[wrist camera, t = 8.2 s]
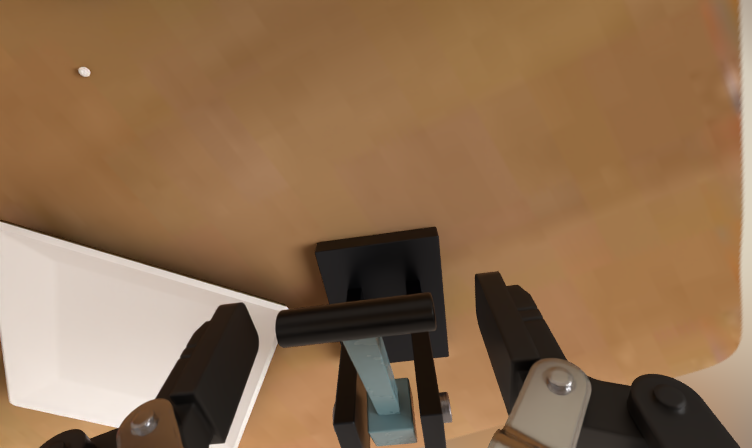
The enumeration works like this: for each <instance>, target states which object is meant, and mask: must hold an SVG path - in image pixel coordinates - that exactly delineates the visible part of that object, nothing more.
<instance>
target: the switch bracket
mask: <svg viewBox="0 0 752 448" xmlns="http://www.w3.org/2000/svg"><path fill="white" fill-rule="evenodd" d="M315 255H316V259H317V262H318V266H319V269H320V273H321V276H322V280H323V283H324V287H325V290H326V294H327V297H328V301H329V304H335V303H344V302H352V301H360V300H368V299H377V298H385V297H393V296H401V295H410V294H418V293H426V292H429V293H431V295H432V298H433V304H434V310H435V317H436V330H435V331H429V332H420V333H411V334H402V335H393V336H384V337H382V339H383V342H384V346H385V349H386V352H387V356H388V359H389V362H390V363H394V362H403V361H412V360H414V365H415V374H416V382H417V391H418V400H419V409H420V418H421V424H422V430H423V437H424V443H425V448H446V440H445V431H444V423H449V422H452V414H451V407H450V402H449V396H448V393H447V392H441V393H439V390H438V384H437V378H436V372H435V366H434V360H433V358H440V357H449V352H448V340H447V329H446V317H445V305H444V293H443V282H442V270H441V258H440V246H439V236H438V232H437V229H436V227H431V228H424V229H416V230H409V231H402V232H394V233H387V234H379V235H372V236H364V237H357V238H349V239H342V240H335V241H327V242H320V243H317V246H316V250H315ZM340 343H341V354H340V364H339V373H338V382H337V392H336V401H335V404H334V407H333V426H334V430H335V432H336V434H337V437H338V440H339V443H340V446H341V448H370V435H369V433H368V423H367V391H366V389H365V387H364V385H363V383H362V381H361V379H360V376H359V374H358V372H357V370H356V368H355V366H354V364H353V362H352V360H351V358H350V356H349V354H348V352H347V350H346V348H345V346H344V344H343V342H342V341H340Z"/></svg>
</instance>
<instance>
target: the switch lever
mask: <svg viewBox="0 0 752 448" xmlns="http://www.w3.org/2000/svg"><path fill="white" fill-rule="evenodd" d="M435 330H436V317H435V310H434V304H433V298H432V295H431V293H429V292H426V293H418V294H410V295H401V296H393V297H385V298H377V299H368V300H360V301H352V302H344V303H335V304H327V305H319V306H311V307H302V308H294V309H286V310H281V311H280V312H279V313H278V314H277V317H276V323H275V332H276V338H277V342H278V344H279V345H280V346H281V347H283V348H287V347H296V346H305V345H314V344H323V343H331V342H340V341H342V342H343V344H344V346H345V348H346V350H347V352H348V354H349V356H350V358H351V360H352V362H353V364H354V366H355V368H356V370H357V372H358V374H359V376H360V379H361V381H362V383H363V385H364V387H365V389H366V391H367V423H368V433H369V435H370V436H371V438H372V440H373V441H374V443H375V444H376V446H386V445H397V444H408V443H416V442H417V433H416V424H415V415H414V406H413V397H412V392H411V388H410V383H409V379H408V378H400V379H394V375H393V372H392V369H391V366H390V362H389V359H388V356H387V352H386V349H385V346H384V342H383V339H382V337H384V336H393V335H402V334H411V333H420V332H429V331H435Z"/></svg>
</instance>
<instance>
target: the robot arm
mask: <svg viewBox="0 0 752 448" xmlns="http://www.w3.org/2000/svg"><path fill="white" fill-rule="evenodd" d="M475 298H476V315H477V320H478V325H479V328H480V331H481V334H482V337H483V340H484V343H485V346H486V349H487V352H488V355H489V358H490V361H491V364H492V367H493V370H494V373H495V376H496V379H497V382H498V385H499V388H500V391H501V394H502V397H503V400H504V403H505V406H506V409H507V412H508V415H509V417H508V420H507V422H506V424H505V426H504V428H503V429H502V430H500V429H498V430H497V431H496V433H495V434H494V436H493V437H492V440H491V441H490V444H489V446H488V448H740V447H739V445H738V444H737V443H736V441H735V440H734V439H733V438H732V436H731V435H730V434H729V432H728V431H727V430H726V429H725V427H724V426H723V425H722V424H721V422H720V421H719V420H718V419H717V417H716V416H715V415H714V413H713V412H712V411H711V410H710V408H709V407H708V406H707V405H706V403H705V402H704V401H703V399H702V398H701V397H700V396H699V395H698V394H697V393H696V392H695V391H694V390H693V389H691V388H690V387H689V386H687V385H685V384H684V383H682V382H680V381H678V380H676V379H674V378H671V377H668V376H664V375H658V374H646V375H642V376H639V377H638V378H636V379H635V380H634V381H633V383H632V385H631V386H628V385H622V384H616V383H610V382H605V381H600V380H596V379H593V378H591V377H589V376H586V374H585V373H584V372H583V371H582V370H581V369H580V368H579V367H577V366H576V365H574V364H572V363H570V362H568V361H567V359H566V358H565V356H564V354H563V352H562V350H561V349H560V347H559V345H558V343H557V342H556V340H555V338H554V336H553V334H552V333H551V331H550V329H549V327H548V326H547V324H546V322H545V320H544V319H543V317H542V315H541V313H540V311H539V309H537V306H536V304H535V302H534V301H533V299H532V297H531V295H530V294H529V293H528V292H526V291H525V290H524V289H522V288H521V287H520V286H519V285H512V286H506V285H505V283H504V281H503V279H502V277H501V275H500V273H499V272H498V271H497V272H488V273H480V274H475ZM258 349H259V336H258V333H257V330H256V328H255V326H254V324H253V321H252V319H251V317H250V314H249V312H248V310H247V307H246V305H245V304H244V303H243V302H239V303H231V304H223V305H220V306H218V308H217V309H216V311H215V313H214V315H213V317H212V318H211V320H210V321H206V322H205V323H204V324H203V325H202V326H201V327H200V328H198V329H197V330H196V331H195V332H194V333H193V335H192V337H191V338H190V340H189V342H188V344H187V345H186V348H185V349H184V350H183V352H182V354H181V355H180V359H178V361H177V362H176V364H175V366H174V367H173V369H172V371H171V372H170V374H169V376H168V378H167V379H166V381H165V383H164V384H163V386H162V388H161V389H160V391H159V393H158V395H157V396H156V398H155V399H153V400H150V401H148V402H145V403H143V404H142V405H140V406H138V407H137V408H136V409H134V410H133V411H132V412H131V413H130V414H129V415H128V416H127V417H126V418H125V419H124V420H123V422H122V423H121V425H120V427H119V428H117V429H114V430H112V431H109V432H106V433H104V434H101V435H99V436H96V437H93V438H91V439H89V438H88V436H87V435H86V434H85V433H84V432H83V431H81V430H79V429H72V430H68V431H65V432H62V433H60V434H58V435H56V436H55V437H53V438H51V439H50V440H48V441H47V442H46V443H44V444H43V445H42V446H41V447H40V448H209V445H211V444H222V443H225V441H226V439H227V436H228V433H229V430H230V428H231V425H232V422H233V419H234V417H235V414H236V411H237V408H238V405H239V403H240V400H241V397H242V394H243V392H244V389H245V386H246V383H247V381H248V378H249V375H250V372H251V369H252V367H253V364H254V361H255V358H256V356H257V353H258Z"/></svg>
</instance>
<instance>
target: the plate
mask: <svg viewBox="0 0 752 448" xmlns="http://www.w3.org/2000/svg"><path fill="white" fill-rule="evenodd" d="M239 302H243V303H244V304H245V305H246V307H247V310H248V312H249V314H250V317H251V319H252V321H253V324H254V326H255V328H256V330H257V333H258V336H259V349H258V353H257V356H256V358H255V361H254V364H253V367H252V369H251V372H250V375H249V378H248V381H247V383H246V386H245V389H244V392H243V394H242V397H241V400H240V403H239V405H238V408H237V411H236V414H235V417H234V419H233V422H232V425H231V428H230V430H229V433H228V436H227V439H226V441H225V443H222V444H211V445H209V448H238V445H239V442H240V440H241V437H242V435H243V432H244V429H245V427H246V424H247V422H248V419H249V416H250V414H251V411H252V409H253V406H254V403H255V401H256V398H257V396H258V393H259V390H260V388H261V385H262V383H263V380H264V377H265V375H266V372H267V370H268V367H269V364H270V362H271V359H272V357H273V354H274V351H275V349H276V346H277V344H278V342H277V338H276V332H275V323H276V317H277V314H278V313H279V312H280V311H281V310H286V309H288V307H287V306H286V305H285V304H282V303H279V302H275V301H272V300H268V299H265V298H262V297H258V296H255V295H252V294H248V293H245V292H242V291H238V290H235V289H232V288H228V287H225V286H221V285H218V284H215V283H211V282H208V281H205V280H201V279H198V278H195V277H191V276H188V275H185V274H181V273H178V272H174V271H171V270H168V269H164V268H161V267H158V266H154V265H151V264H148V263H144V262H141V261H138V260H134V259H131V258H127V257H124V256H121V255H117V254H114V253H111V252H107V251H104V250H101V249H97V248H94V247H91V246H87V245H84V244H80V243H77V242H74V241H70V240H67V239H64V238H60V237H57V236H54V235H50V234H47V233H44V232H40V231H37V230H33V229H30V228H27V227H23V226H20V225H17V224H13V223H10V222H7V221H3V220H0V338H1V345H2V353H3V361H4V368H5V376H6V384H7V391H8V399H9V402H10V403H12V404H13V405H14V406H19V407H24V408H28V409H33V410H37V411H42V412H47V413H51V414H56V415H61V416H65V417H70V418H74V419H79V420H84V421H88V422H93V423H98V424H102V425H107V426H112V427H116V428H119V427H120V425H121V423H122V422H123V420H124V419H125V418H126V417H127V416H128V415H129V414H130V413H131V412H132V411H133V410H134V409H136V408H137V407H138V406H140V405H142V404H143V403H145V402H148V401H150V400H153V399H155V398H156V396H157V395H158V393H159V391H160V389H161V388H162V386H163V384H164V383H165V381H166V379H167V378H168V376H169V374H170V372H171V371H172V369H173V367H174V366H175V364H176V362H177V361H178V359H180V355H181V354H182V352H183V350H184V349H185V348H186V345H187V344H188V342H189V340H190V338H191V337H192V335H193V333H194V332H195V331H196V330H197V329H198V328H200V327H201V326H202V325H203V324H204V323H205V322H206V321H210V320H211V318H212V317H213V315H214V313H215V311H216V309H217V308H218V306H220V305H223V304H231V303H239Z"/></svg>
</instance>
